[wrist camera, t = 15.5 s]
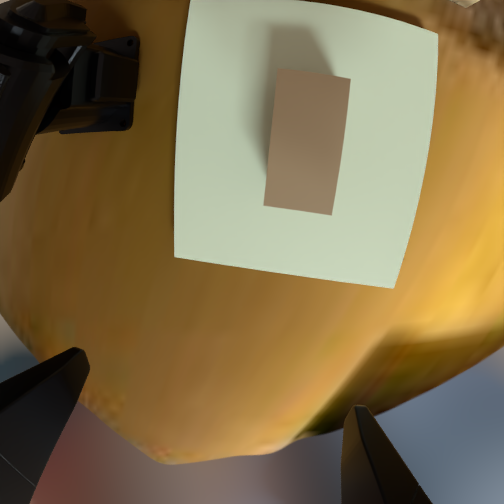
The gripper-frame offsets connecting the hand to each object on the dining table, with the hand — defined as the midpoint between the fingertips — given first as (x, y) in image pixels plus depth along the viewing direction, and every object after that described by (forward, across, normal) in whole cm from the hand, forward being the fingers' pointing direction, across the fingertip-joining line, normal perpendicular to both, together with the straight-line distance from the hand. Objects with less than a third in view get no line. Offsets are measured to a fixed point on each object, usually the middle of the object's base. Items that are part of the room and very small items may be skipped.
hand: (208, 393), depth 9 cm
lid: (+12, -2, -7) cm, 14 cm away
